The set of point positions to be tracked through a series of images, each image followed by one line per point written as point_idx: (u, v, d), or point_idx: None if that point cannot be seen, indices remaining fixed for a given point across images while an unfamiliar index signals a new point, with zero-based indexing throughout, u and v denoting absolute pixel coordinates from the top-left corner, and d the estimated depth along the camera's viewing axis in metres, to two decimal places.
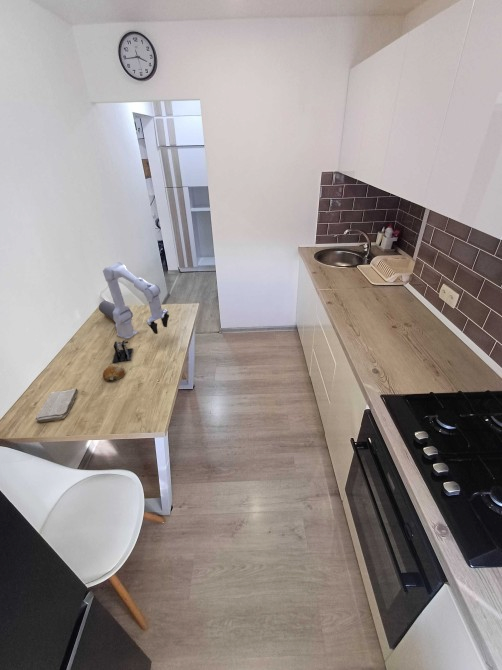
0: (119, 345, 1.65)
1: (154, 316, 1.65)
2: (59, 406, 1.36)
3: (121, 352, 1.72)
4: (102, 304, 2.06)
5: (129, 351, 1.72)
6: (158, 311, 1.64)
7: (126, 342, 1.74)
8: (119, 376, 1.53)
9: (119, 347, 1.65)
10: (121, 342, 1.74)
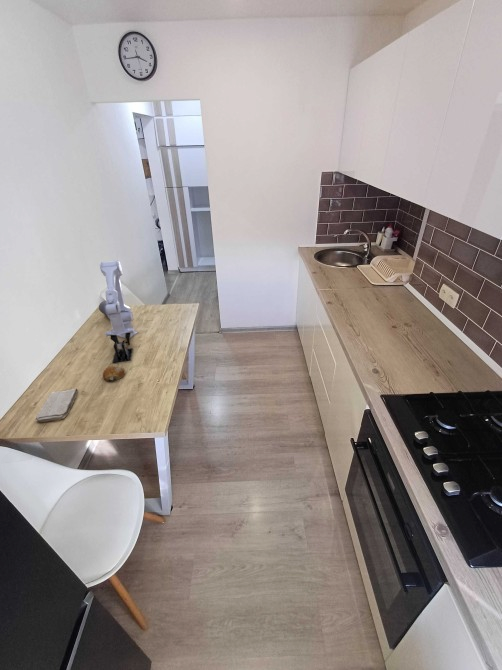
0: (119, 345, 1.65)
1: (113, 331, 1.69)
2: (59, 406, 1.36)
3: (121, 352, 1.72)
4: (102, 304, 2.06)
5: (129, 351, 1.72)
6: (115, 328, 1.66)
7: (126, 342, 1.74)
8: (119, 376, 1.53)
9: (119, 347, 1.65)
10: (121, 342, 1.74)
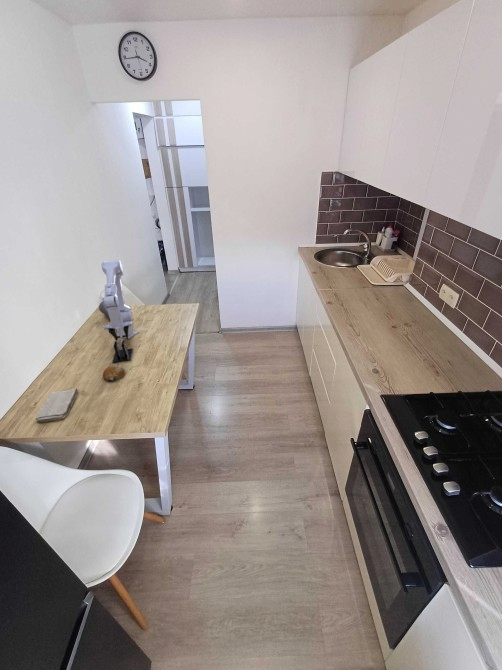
0: (119, 346, 1.65)
1: (111, 324, 1.67)
2: (59, 406, 1.36)
3: (121, 352, 1.72)
4: (102, 304, 2.06)
5: (129, 351, 1.72)
6: (113, 321, 1.64)
7: (124, 336, 1.73)
8: (119, 376, 1.53)
9: (119, 348, 1.66)
10: (119, 336, 1.72)
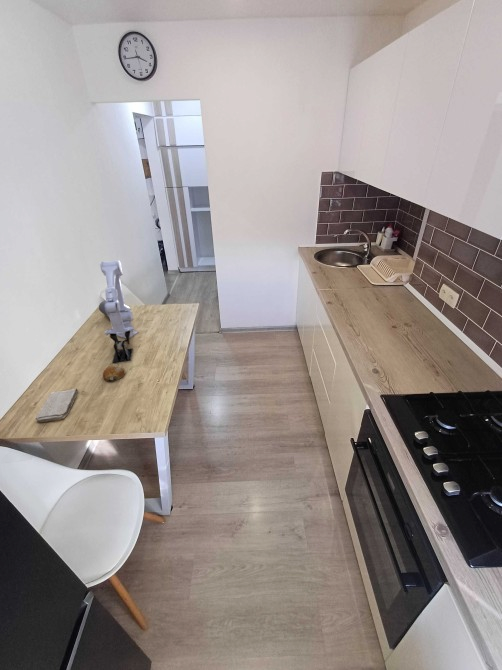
0: (119, 345, 1.65)
1: (113, 329, 1.69)
2: (59, 406, 1.36)
3: (121, 352, 1.72)
4: (102, 304, 2.06)
5: (129, 351, 1.72)
6: (114, 326, 1.66)
7: (126, 341, 1.74)
8: (119, 376, 1.53)
9: (119, 347, 1.65)
10: (121, 341, 1.74)
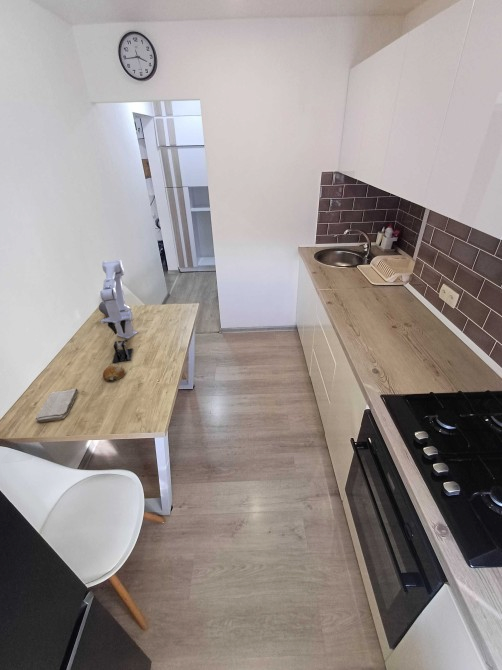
0: (119, 345, 1.65)
1: (109, 318, 1.65)
2: (59, 406, 1.36)
3: (121, 352, 1.72)
4: (102, 304, 2.06)
5: (129, 351, 1.72)
6: (111, 315, 1.62)
7: (126, 341, 1.74)
8: (119, 376, 1.53)
9: (119, 347, 1.65)
10: (121, 341, 1.74)
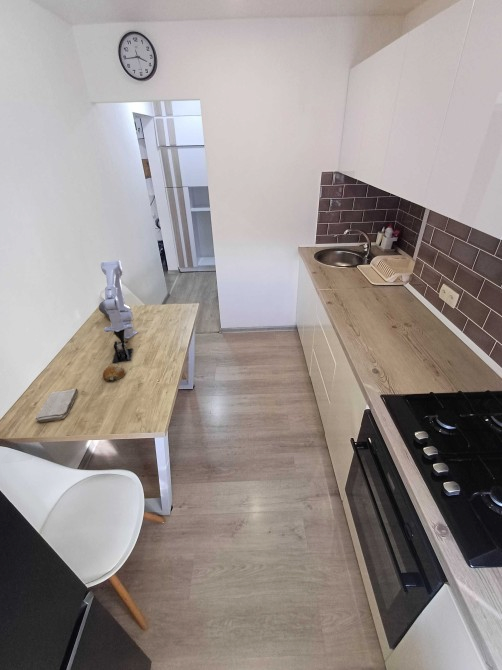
0: (119, 345, 1.65)
1: (112, 327, 1.68)
2: (59, 406, 1.36)
3: (121, 352, 1.72)
4: (102, 304, 2.06)
5: (129, 351, 1.72)
6: (113, 324, 1.65)
7: (126, 342, 1.74)
8: (119, 376, 1.53)
9: (119, 347, 1.65)
10: (121, 342, 1.74)
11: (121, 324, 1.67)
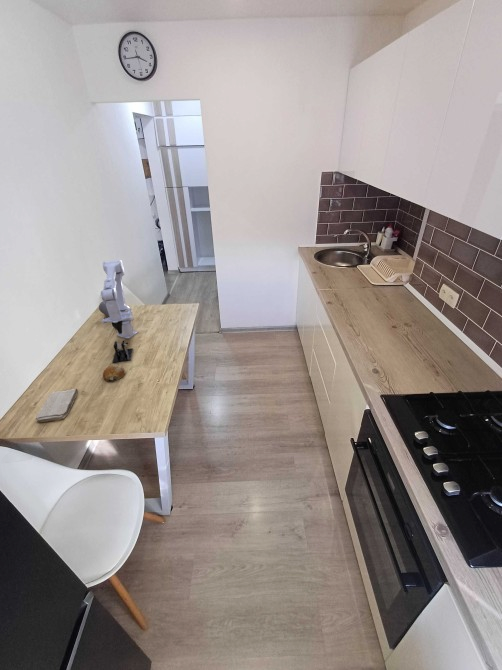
0: (119, 344, 1.65)
1: (110, 318, 1.66)
2: (59, 406, 1.36)
3: (121, 352, 1.72)
4: (102, 304, 2.06)
5: (129, 351, 1.72)
6: (111, 315, 1.64)
7: (126, 343, 1.74)
8: (119, 376, 1.53)
9: (119, 347, 1.65)
10: None
11: (119, 315, 1.66)
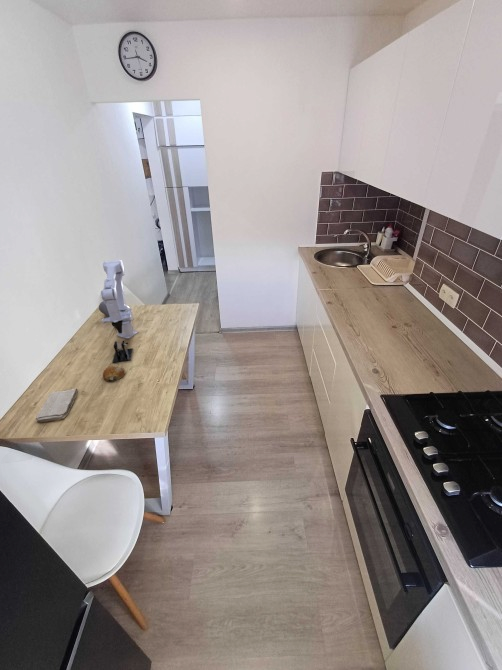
0: (119, 344, 1.65)
1: (110, 317, 1.67)
2: (59, 406, 1.36)
3: (121, 352, 1.72)
4: (102, 304, 2.06)
5: (129, 351, 1.72)
6: (111, 314, 1.64)
7: (126, 343, 1.74)
8: (119, 376, 1.53)
9: (119, 347, 1.65)
10: None
11: (119, 315, 1.66)
